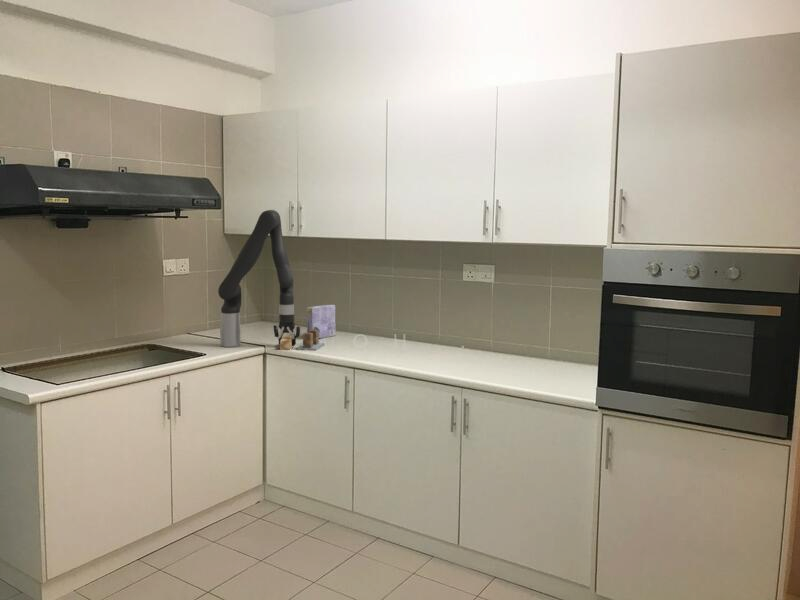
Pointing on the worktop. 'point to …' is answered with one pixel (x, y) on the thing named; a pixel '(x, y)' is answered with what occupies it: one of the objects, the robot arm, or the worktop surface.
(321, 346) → the blueprint plate
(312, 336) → the posts
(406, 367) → the worktop surface
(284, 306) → the robot arm
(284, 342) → the oak crossbeam
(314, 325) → the cake pan box
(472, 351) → the worktop surface
